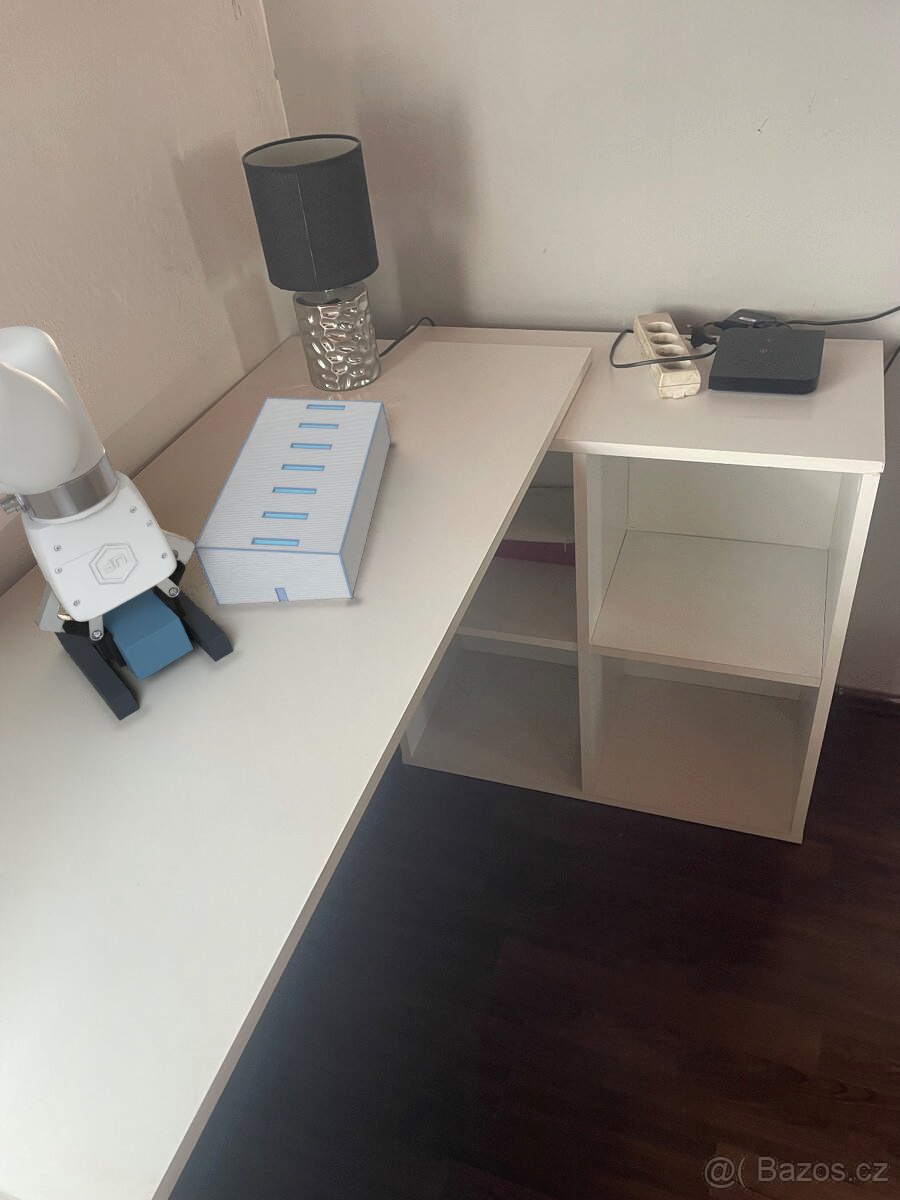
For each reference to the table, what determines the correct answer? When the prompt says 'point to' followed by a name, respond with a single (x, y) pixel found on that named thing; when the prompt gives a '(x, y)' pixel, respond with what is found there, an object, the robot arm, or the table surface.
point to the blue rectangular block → (147, 634)
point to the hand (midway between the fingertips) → (147, 640)
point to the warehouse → (297, 503)
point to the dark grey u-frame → (106, 678)
